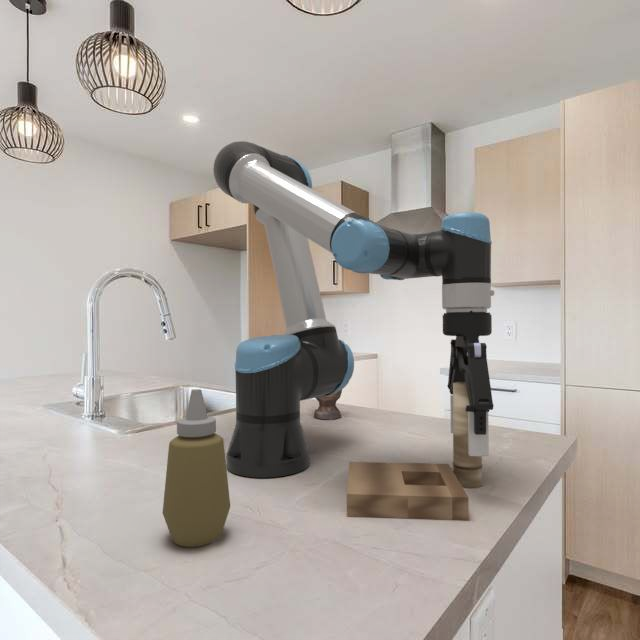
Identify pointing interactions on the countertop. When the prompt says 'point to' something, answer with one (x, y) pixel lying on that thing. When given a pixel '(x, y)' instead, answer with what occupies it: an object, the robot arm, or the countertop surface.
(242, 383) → the robot arm
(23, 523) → the countertop surface
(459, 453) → the peg
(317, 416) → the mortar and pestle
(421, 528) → the countertop surface
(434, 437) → the countertop surface
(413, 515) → the board
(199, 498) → the squeeze bottle
